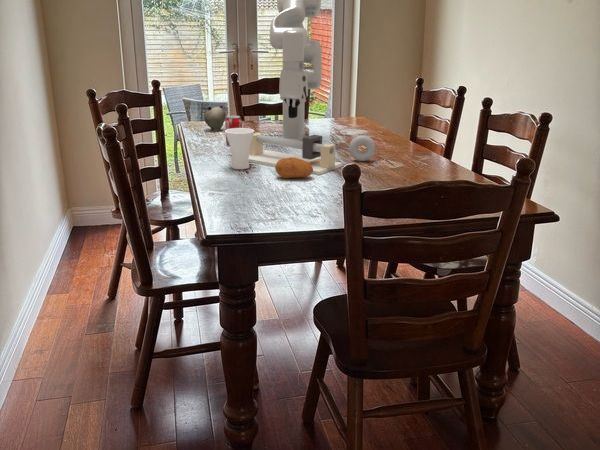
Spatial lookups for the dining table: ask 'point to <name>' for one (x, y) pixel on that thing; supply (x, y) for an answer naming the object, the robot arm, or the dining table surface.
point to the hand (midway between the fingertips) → (292, 117)
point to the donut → (358, 141)
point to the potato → (293, 168)
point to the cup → (240, 146)
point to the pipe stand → (273, 157)
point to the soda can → (232, 123)
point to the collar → (311, 146)
